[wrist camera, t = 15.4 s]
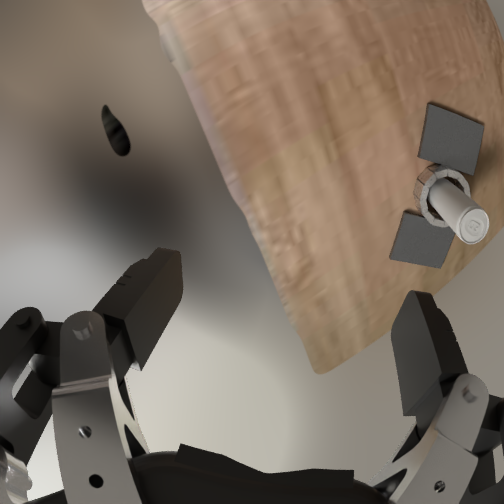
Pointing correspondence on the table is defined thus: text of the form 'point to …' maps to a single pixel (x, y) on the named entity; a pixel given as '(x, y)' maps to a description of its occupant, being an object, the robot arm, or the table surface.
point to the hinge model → (448, 158)
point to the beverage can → (459, 211)
